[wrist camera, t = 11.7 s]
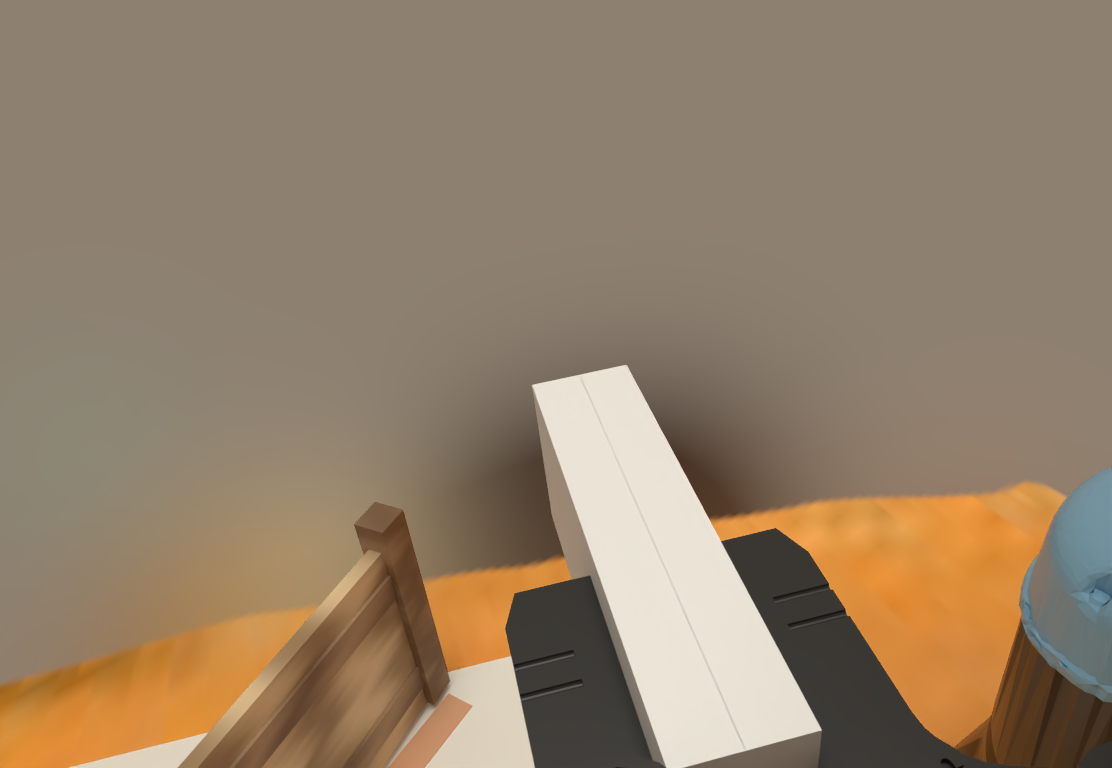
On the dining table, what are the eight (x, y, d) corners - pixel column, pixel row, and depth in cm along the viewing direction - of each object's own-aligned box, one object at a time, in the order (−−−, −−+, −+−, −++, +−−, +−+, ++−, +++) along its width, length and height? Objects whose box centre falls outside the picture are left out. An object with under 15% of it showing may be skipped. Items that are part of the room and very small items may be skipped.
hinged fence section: (223, 1018, 39) (98, 856, 31) (194, 999, 40) (65, 836, 32) (450, 680, 53) (402, 509, 45) (425, 671, 53) (374, 501, 46)
